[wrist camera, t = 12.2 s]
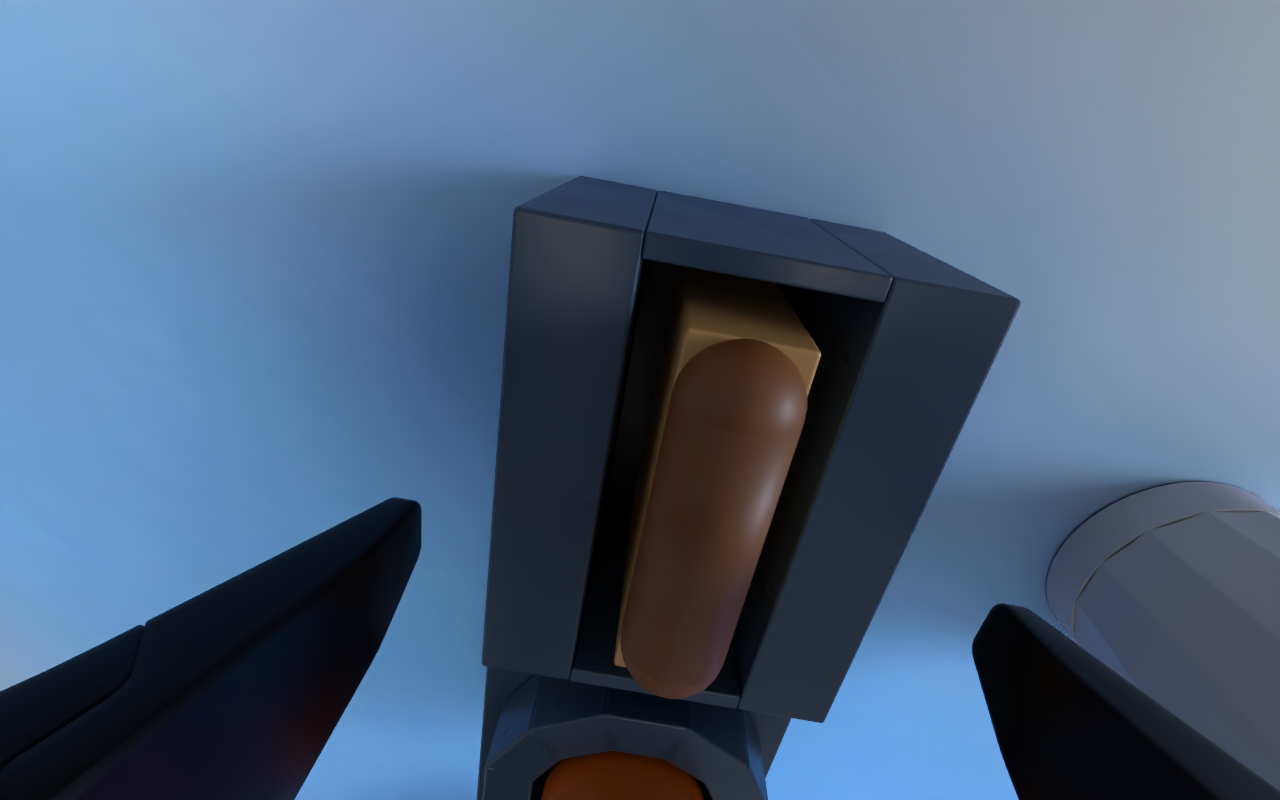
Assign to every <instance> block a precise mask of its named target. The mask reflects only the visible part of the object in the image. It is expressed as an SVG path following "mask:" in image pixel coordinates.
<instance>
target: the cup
mask: <svg viewBox="0 0 1280 800" xmlns="http://www.w3.org/2000/svg"><path fill="white" fill-rule="evenodd" d="M1046 593H1047V599H1048V603H1049V606H1050V608H1051V610H1052V612H1053V614H1054V616H1055V617H1056V618H1057V620H1058V621H1059V622H1060V623H1061V625H1062V626H1063V627H1064V629H1065V630H1066V631H1067V632H1068V634H1069V635H1070V636H1071V638H1072V639H1073V640H1074V642H1075V643H1076V644H1078V645H1079V646H1080V647H1082V648H1083V649H1084V650H1086V651H1087V652H1089V653H1090V654H1091V655H1093V656H1094V657H1095V658H1097V659H1098V660H1100V661H1101V662H1102V663H1104V664H1105V665H1107V666H1108V667H1109V668H1111V669H1112V670H1113V671H1115V672H1116V673H1118V674H1119V675H1120V676H1122V677H1123V678H1124V679H1126V680H1127V681H1129V682H1130V683H1131V684H1133V685H1134V686H1136V687H1137V688H1138V689H1140V690H1141V691H1142V692H1144V693H1145V694H1147V695H1148V696H1149V697H1151V698H1152V699H1153V700H1155V701H1156V702H1158V703H1159V704H1160V705H1162V706H1163V707H1165V708H1166V709H1167V710H1169V711H1170V712H1171V713H1173V714H1174V715H1176V716H1177V717H1178V718H1180V719H1181V720H1182V721H1184V722H1185V723H1187V724H1188V725H1189V726H1191V727H1192V728H1194V729H1195V730H1196V731H1198V732H1199V733H1200V734H1202V735H1203V736H1205V737H1206V738H1207V739H1209V740H1210V741H1211V742H1213V743H1214V744H1216V745H1217V746H1218V747H1220V748H1221V749H1223V750H1224V751H1225V752H1227V753H1228V754H1229V755H1231V756H1232V757H1234V758H1235V759H1236V760H1238V761H1239V762H1240V763H1242V764H1243V765H1245V766H1246V767H1247V768H1249V769H1250V770H1252V771H1253V772H1254V773H1256V774H1257V775H1258V776H1260V777H1261V778H1263V779H1264V780H1265V781H1267V782H1268V783H1269V784H1271V785H1272V786H1274V787H1275V788H1276V789H1278V790H1279V791H1280V511H1279V510H1277V509H1276V508H1274V507H1273V506H1271V505H1270V504H1268V503H1266V502H1265V501H1263V500H1262V499H1260V498H1259V497H1257V496H1255V495H1254V494H1252V493H1250V492H1248V491H1246V490H1243V489H1241V488H1238V487H1235V486H1231V485H1227V484H1222V483H1215V482H1182V483H1175V484H1168V485H1163V486H1159V487H1155V488H1151V489H1148V490H1145V491H1142V492H1139V493H1136V494H1133V495H1131V496H1128V497H1126V498H1124V499H1122V500H1119V501H1117V502H1115V503H1114V504H1112V505H1110V506H1108V507H1106V508H1105V509H1103V510H1101V511H1100V512H1098V513H1097V514H1095V515H1094V516H1092V517H1091V518H1090V519H1088V520H1087V521H1086V522H1085V523H1083V524H1082V525H1081V526H1080V527H1079V528H1078V529H1077V530H1076V531H1075V532H1074V533H1073V534H1072V535H1071V536H1070V537H1069V538H1068V539H1067V540H1066V541H1065V543H1064V544H1063V545H1062V547H1061V548H1060V550H1059V551H1058V553H1057V554H1056V556H1055V558H1054V560H1053V562H1052V564H1051V567H1050V570H1049V573H1048V577H1047V584H1046Z"/></svg>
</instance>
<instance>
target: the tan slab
mask: <svg viewBox="0 0 1280 800" xmlns="http://www.w3.org/2000/svg"><path fill="white" fill-rule="evenodd" d="M820 357H821V352H820V350H819V349H818V347H817V346H816V344H815V343H814V341H813V339H812V338H811V336H810V335H809V333H808V332H807V330H806V329H805V327H804V325H803V324H802V322H801V321H800V319H799V318H798V316H797V315H796V313H795V312H794V310H793V308H792V307H791V305H790V304H789V302H788V301H787V299H786V298H785V296H784V294H783V293H782V291H781V290H780V288H779V287H778V285H777V284H776V283H772V282H767V281H761V280H756V279H750V278H745V277H739V276H734V275H729V274H723V273H718V272H712V271H707V270H701V269H696V268H690V267H685V266H680V268H679V273H678V278H677V283H676V288H675V293H674V298H673V303H672V308H671V313H670V318H669V323H668V328H667V333H666V338H665V343H664V348H663V353H662V358H661V363H660V368H659V373H658V378H657V383H656V388H655V393H654V398H653V403H652V408H651V413H650V418H649V423H648V428H647V433H646V438H645V443H644V448H643V452H642V457H641V462H640V467H639V472H638V477H637V482H636V487H635V492H634V497H633V504H632V512H631V521H630V529H629V538H628V546H627V555H626V563H625V571H624V580H623V588H622V597H621V605H620V614H619V622H618V631H617V639H616V648H615V656H614V663H615V665H617V666H622V667H627V669H628V671H629V672H630V674H631V675H632V677H633V678H634V680H635V681H636V682H637V683H638V684H639V685H640V686H641V687H643V688H644V689H646V690H647V691H649V692H650V693H652V694H655V695H657V696H660V697H664V698H668V699H682V698H687V697H690V696H693V695H695V694H698V693H699V692H701V691H703V690H704V689H706V688H707V687H708V686H709V685H710V684H711V683H712V682H713V681H714V680H715V679H716V677H717V676H718V674H719V672H720V670H721V668H722V666H723V664H724V661H725V658H726V655H727V652H728V649H729V646H730V643H731V640H732V637H733V634H734V631H735V628H736V625H737V622H738V619H739V616H740V613H741V610H742V607H743V604H744V601H745V599H746V596H747V593H748V590H749V587H750V584H751V581H752V578H753V575H754V572H755V569H756V566H757V563H758V560H759V557H760V554H761V551H762V548H763V545H764V542H765V539H766V536H767V533H768V530H769V527H770V524H771V521H772V518H773V515H774V512H775V509H776V506H777V503H778V500H779V497H780V494H781V491H782V488H783V485H784V482H785V479H786V476H787V473H788V470H789V467H790V464H791V461H792V458H793V455H794V452H795V449H796V446H797V443H798V440H799V437H800V434H801V431H802V428H803V425H804V422H805V416H806V411H807V396H808V393H809V390H810V387H811V384H812V381H813V378H814V375H815V372H816V369H817V366H818V363H819V360H820Z"/></svg>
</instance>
